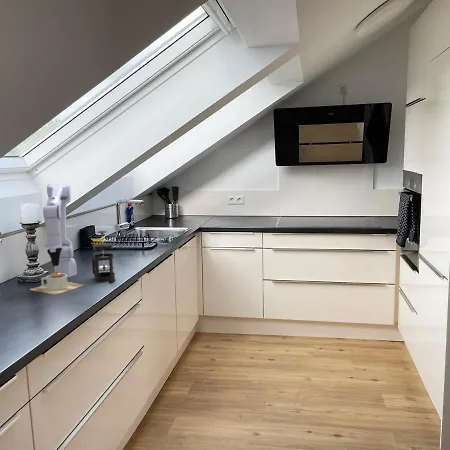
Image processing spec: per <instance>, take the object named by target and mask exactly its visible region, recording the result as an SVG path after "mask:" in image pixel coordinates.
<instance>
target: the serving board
mask: <svg viewBox="0 0 450 450" xmlns="http://www.w3.org/2000/svg"><path fill="white" fill-rule="evenodd" d="M67 283H68V287H67V288H65V289H61V290H48V289H47V286H46V287H42V285H40V286H38V287H33V288H30V289H29V291H34V292H40V293H43V294H44V293H45V294H48V295H55V296H56V295H58V294H62V293H65V292H68V291H71V290H75V289H77V288H80V287H83V286H85V284H82V283H76V282H71V281H67Z"/></svg>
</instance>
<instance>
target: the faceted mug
mask: <svg viewBox="0 0 450 450" xmlns="http://www.w3.org/2000/svg"><path fill="white" fill-rule="evenodd" d="M40 280H41V282H40V283H41V286H42V287H46V286H47V289H48V290H61V289H65V288H67V287H68V283H67V282H68V278H67V274H63V273H62V277H60V278H52V273H51V274H48V275H46V276H45V277H41V278H40ZM44 280H45V281H46V284H45V283H44Z"/></svg>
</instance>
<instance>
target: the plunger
mask: <svg viewBox="0 0 450 450" xmlns="http://www.w3.org/2000/svg"><path fill="white" fill-rule="evenodd" d="M51 274H52V278H60V277H62V273H61V272H55V271H54V272H51Z"/></svg>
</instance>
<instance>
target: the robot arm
mask: <svg viewBox="0 0 450 450" xmlns="http://www.w3.org/2000/svg"><path fill="white" fill-rule="evenodd" d="M71 193H72V191H71V184H69V183H48V184H47V186H46V194H47V196H48V199H47V202H46V205H45V206H43V207H42V208H43V209H42V215H43V220H44V225H45V233H46V244H44V245H43V247H44V248H48V249H47V251H46V252H47V253H48V255H49V257H50V261H51V263H52V267H54V272H61V273H63V274H67V279H68V278H70V277H73V276H77V275H78V272H77V271H78V269H77V268H78V267H77V262H76V260H75V258H74V245H73V241H72V240H70V239H68V238H67V214H66V213H67V212H66V211H67V204H69V203H70V202H71V200H72V198H71V197H72V196H71Z"/></svg>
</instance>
